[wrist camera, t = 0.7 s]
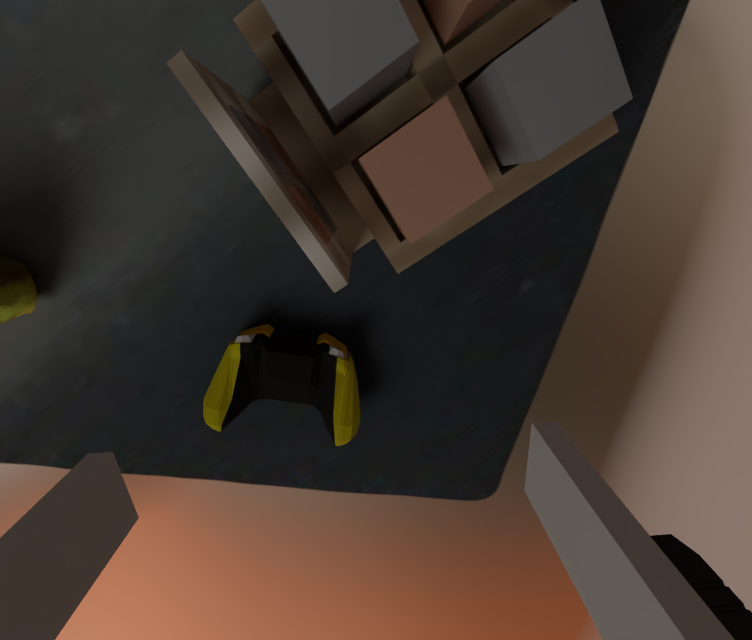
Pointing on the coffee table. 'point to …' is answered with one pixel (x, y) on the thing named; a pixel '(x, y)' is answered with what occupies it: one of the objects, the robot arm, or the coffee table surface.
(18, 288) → the bottle
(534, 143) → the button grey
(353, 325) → the coffee table surface
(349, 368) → the gaming controller
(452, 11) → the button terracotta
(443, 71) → the button board
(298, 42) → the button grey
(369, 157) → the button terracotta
